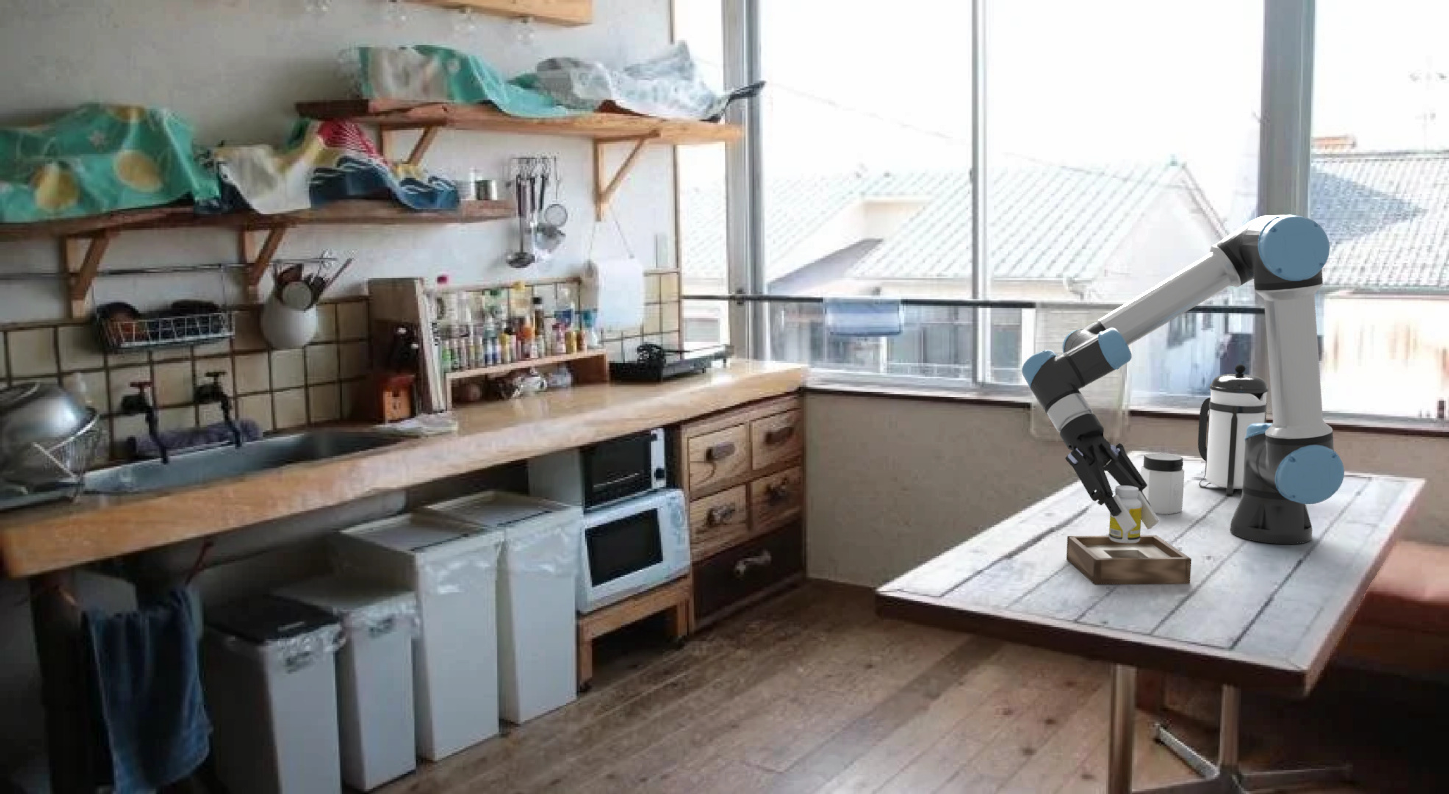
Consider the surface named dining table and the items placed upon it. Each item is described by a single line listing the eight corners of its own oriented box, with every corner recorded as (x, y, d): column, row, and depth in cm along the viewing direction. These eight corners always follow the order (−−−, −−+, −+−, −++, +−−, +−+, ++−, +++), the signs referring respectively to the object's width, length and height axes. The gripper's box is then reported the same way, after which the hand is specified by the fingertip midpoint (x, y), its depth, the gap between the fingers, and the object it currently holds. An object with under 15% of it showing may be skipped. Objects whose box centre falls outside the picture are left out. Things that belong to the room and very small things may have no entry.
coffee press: (1272, 487, 292) (1280, 362, 288) (1261, 500, 279) (1269, 369, 274) (1196, 478, 301) (1203, 357, 297) (1181, 490, 288) (1189, 364, 283)
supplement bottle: (1139, 538, 224) (1143, 485, 222) (1139, 545, 219) (1143, 492, 217) (1109, 535, 226) (1112, 483, 224) (1108, 542, 221) (1111, 489, 219)
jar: (1163, 516, 263) (1166, 461, 262) (1132, 508, 270) (1134, 455, 268) (1189, 510, 268) (1192, 457, 267) (1158, 503, 275) (1160, 451, 273)
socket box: (1155, 558, 231) (1156, 535, 231) (1189, 583, 215) (1191, 558, 215) (1066, 559, 231) (1067, 536, 230) (1094, 584, 215) (1095, 559, 214)
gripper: (1097, 430, 237) (1162, 531, 226) (1030, 439, 228) (1094, 545, 216) (1121, 407, 232) (1189, 509, 221) (1053, 415, 222) (1120, 522, 211)
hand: (1142, 527), depth 219 cm, fingers closed on supplement bottle, 5 cm apart
